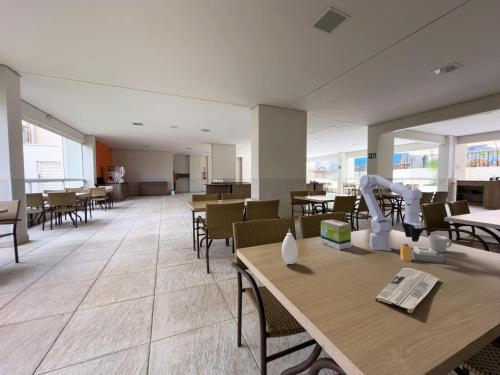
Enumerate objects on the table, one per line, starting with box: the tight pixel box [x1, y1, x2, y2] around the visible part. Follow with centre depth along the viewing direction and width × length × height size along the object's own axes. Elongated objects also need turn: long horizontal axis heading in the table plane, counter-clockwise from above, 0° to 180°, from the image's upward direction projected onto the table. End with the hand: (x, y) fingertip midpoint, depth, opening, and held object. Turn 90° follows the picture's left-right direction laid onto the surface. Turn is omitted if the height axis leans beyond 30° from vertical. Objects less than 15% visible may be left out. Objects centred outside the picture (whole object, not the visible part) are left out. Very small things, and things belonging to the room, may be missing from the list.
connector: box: [399, 243, 412, 262], centre depth 105 cm, size 4×4×8 cm
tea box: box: [320, 218, 352, 251], centre depth 128 cm, size 15×10×15 cm, turn 25°
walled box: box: [410, 246, 445, 264], centre depth 106 cm, size 11×11×4 cm
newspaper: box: [374, 267, 440, 314], centre depth 77 cm, size 35×12×4 cm, turn 131°
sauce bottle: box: [281, 228, 299, 265], centre depth 102 cm, size 8×8×18 cm
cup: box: [427, 234, 453, 254], centre depth 114 cm, size 11×8×8 cm
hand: (411, 239), depth 105 cm, fingers open, 7 cm apart
